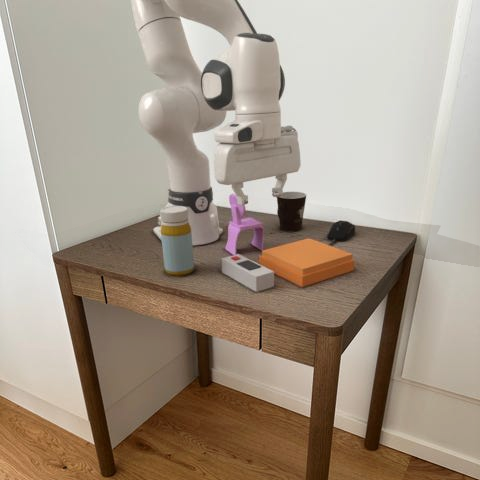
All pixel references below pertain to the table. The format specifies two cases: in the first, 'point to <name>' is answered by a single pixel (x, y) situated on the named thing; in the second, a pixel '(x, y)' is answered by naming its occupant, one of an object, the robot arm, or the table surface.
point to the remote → (248, 272)
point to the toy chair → (242, 226)
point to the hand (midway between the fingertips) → (260, 200)
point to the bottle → (176, 241)
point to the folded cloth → (307, 261)
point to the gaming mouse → (341, 231)
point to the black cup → (291, 210)
